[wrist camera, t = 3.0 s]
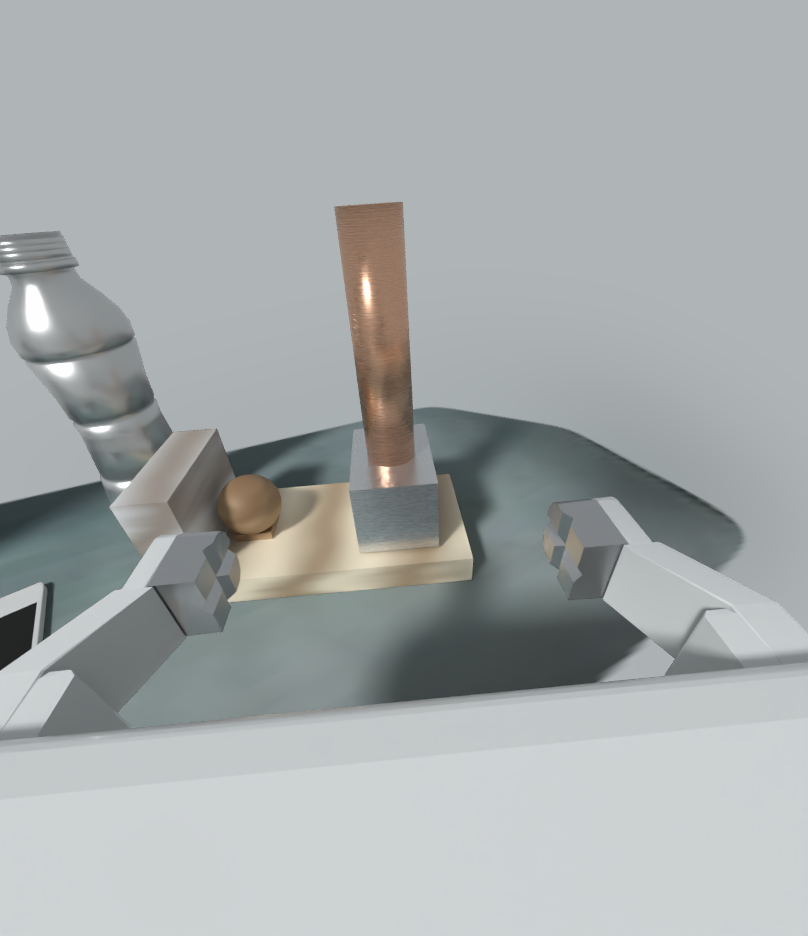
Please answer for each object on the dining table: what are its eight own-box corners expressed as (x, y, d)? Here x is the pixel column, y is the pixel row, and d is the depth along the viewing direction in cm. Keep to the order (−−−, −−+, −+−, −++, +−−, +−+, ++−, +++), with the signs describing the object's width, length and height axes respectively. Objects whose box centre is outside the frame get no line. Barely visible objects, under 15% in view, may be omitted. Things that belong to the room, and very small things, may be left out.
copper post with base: (359, 553, 24) (299, 210, 14) (362, 485, 30) (320, 206, 20) (438, 546, 24) (436, 200, 14) (426, 480, 30) (417, 200, 20)
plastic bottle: (119, 545, 29) (-86, 243, 18) (128, 496, 35) (-27, 236, 23) (209, 517, 32) (77, 231, 20) (205, 475, 37) (98, 227, 25)
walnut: (221, 551, 26) (198, 503, 23) (238, 511, 29) (220, 465, 26) (282, 546, 26) (265, 497, 23) (292, 507, 29) (279, 460, 26)
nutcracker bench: (159, 608, 25) (93, 514, 20) (208, 514, 32) (169, 429, 27) (471, 579, 25) (478, 480, 20) (449, 493, 32) (450, 406, 28)
